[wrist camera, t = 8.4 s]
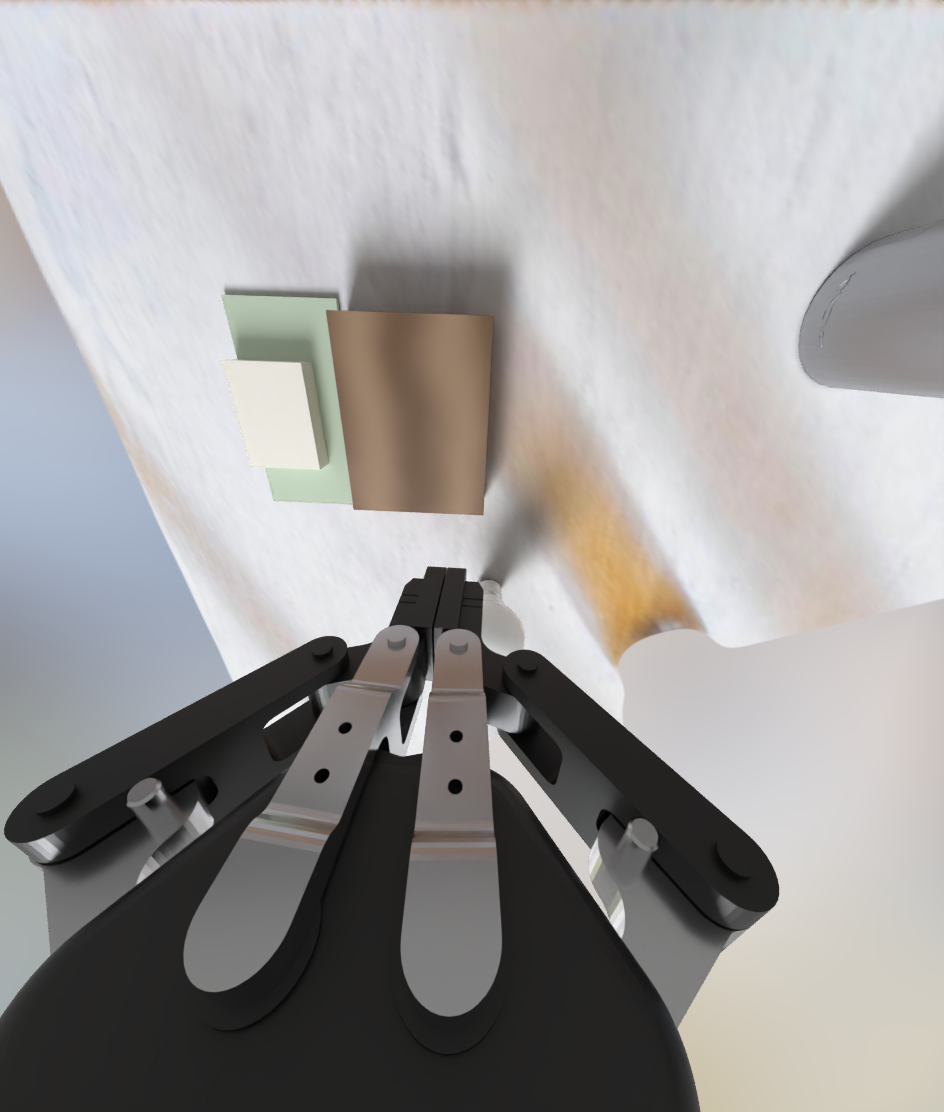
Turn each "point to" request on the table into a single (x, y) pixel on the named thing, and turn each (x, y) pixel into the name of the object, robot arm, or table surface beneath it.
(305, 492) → the mat
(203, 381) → the table surface
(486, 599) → the lightbulb
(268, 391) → the white flat block
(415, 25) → the table surface
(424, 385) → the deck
